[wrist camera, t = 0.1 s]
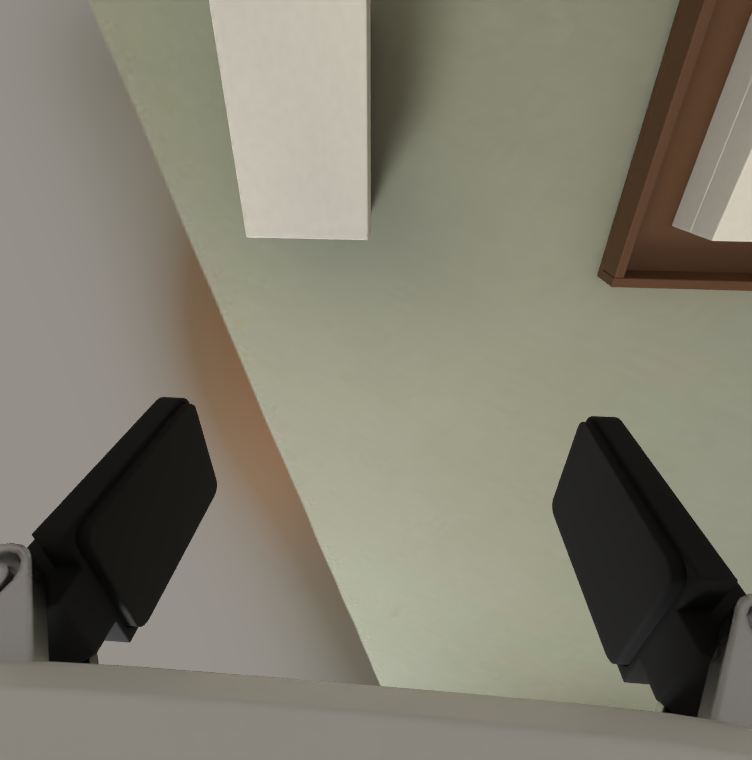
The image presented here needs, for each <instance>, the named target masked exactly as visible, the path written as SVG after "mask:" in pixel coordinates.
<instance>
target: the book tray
mask: <svg viewBox="0 0 752 760" xmlns="http://www.w3.org/2000/svg"><path fill="white" fill-rule="evenodd" d="M751 13H752V0H680V3H679V6H678V9H677V13H676V16H675V19H674V22H673V26H672V29H671V32H670V36H669V39H668V42H667V46H666V49H665V52H664V56H663V59H662V62H661V66H660V69H659V72H658V76H657V79H656V82H655V86H654V89H653V92H652V96H651V99H650V102H649V106H648V109H647V112H646V116H645V119H644V122H643V126H642V129H641V132H640V135H639V139H638V142H637V145H636V149H635V152H634V155H633V159H632V162H631V165H630V169H629V172H628V175H627V179H626V182H625V185H624V189H623V192H622V195H621V199H620V202H619V205H618V209H617V212H616V215H615V219H614V222H613V225H612V229H611V232H610V235H609V239H608V242H607V245H606V249H605V252H604V255H603V258H602V262H601V265H600V268H599V272H598V275H597V276H598V277H599V278H601V279H602V280H603V281H605V282H606V283H607V284H608V285H610V286H611V287H632V288H668V289H705V290H741V291H752V242H741V241H711V240H709V239H706V238H703V237H700V236H698V235H695V234H692V233H690V232H687V231H684V230H682V229H679V228H676V227H674V226H672V224H673V221H674V218H675V216H676V213H677V210H678V208H679V205H680V202H681V200H682V197H683V194H684V192H685V189H686V186H687V184H688V181H689V178H690V176H691V173H692V170H693V168H694V165H695V162H696V160H697V157H698V154H699V152H700V149H701V146H702V144H703V141H704V138H705V136H706V133H707V130H708V128H709V125H710V122H711V120H712V117H713V114H714V112H715V109H716V106H717V104H718V101H719V98H720V96H721V93H722V90H723V88H724V85H725V82H726V80H727V77H728V74H729V72H730V69H731V66H732V64H733V61H734V58H735V56H736V53H737V50H738V48H739V45H740V42H741V40H742V37H743V34H744V32H745V29H746V26H747V24H748V21H749V18H750V16H751Z"/></svg>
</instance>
